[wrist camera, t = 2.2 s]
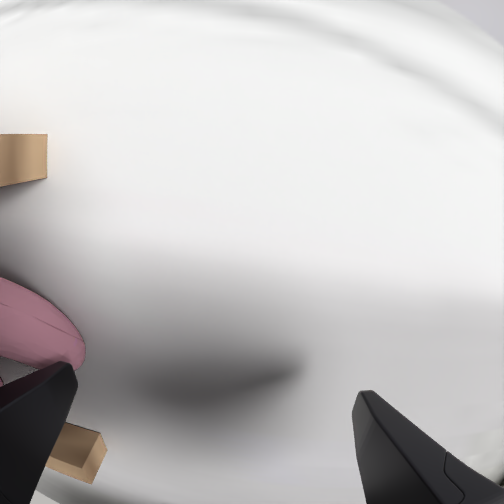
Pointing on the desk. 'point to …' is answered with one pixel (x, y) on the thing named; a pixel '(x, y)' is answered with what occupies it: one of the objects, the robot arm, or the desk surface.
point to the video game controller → (36, 330)
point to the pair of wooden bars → (71, 437)
